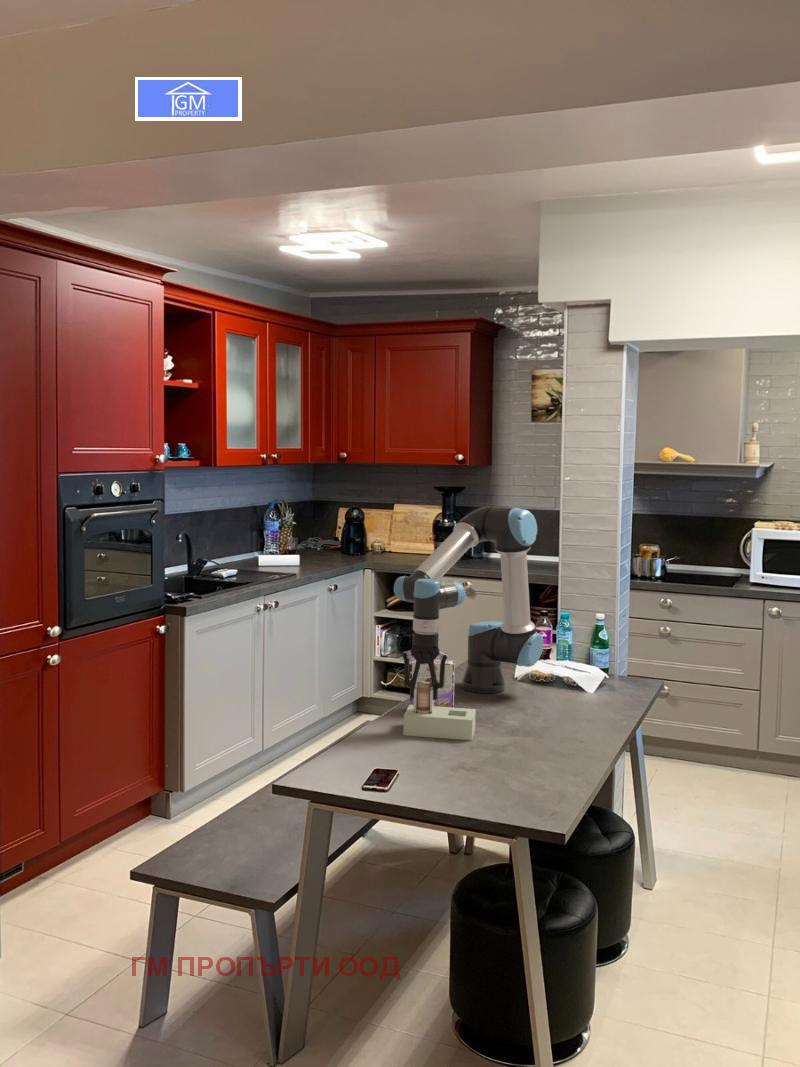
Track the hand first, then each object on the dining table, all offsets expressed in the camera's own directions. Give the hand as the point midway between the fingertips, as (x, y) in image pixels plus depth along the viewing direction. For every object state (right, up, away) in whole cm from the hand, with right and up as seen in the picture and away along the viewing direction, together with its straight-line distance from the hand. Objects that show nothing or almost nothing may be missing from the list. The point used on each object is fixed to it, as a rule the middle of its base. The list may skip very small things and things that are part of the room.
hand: (423, 709), depth 281 cm
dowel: (0, -6, +1) cm, 6 cm away
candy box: (+3, -5, +20) cm, 21 cm away
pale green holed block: (+5, -7, 0) cm, 8 cm away
